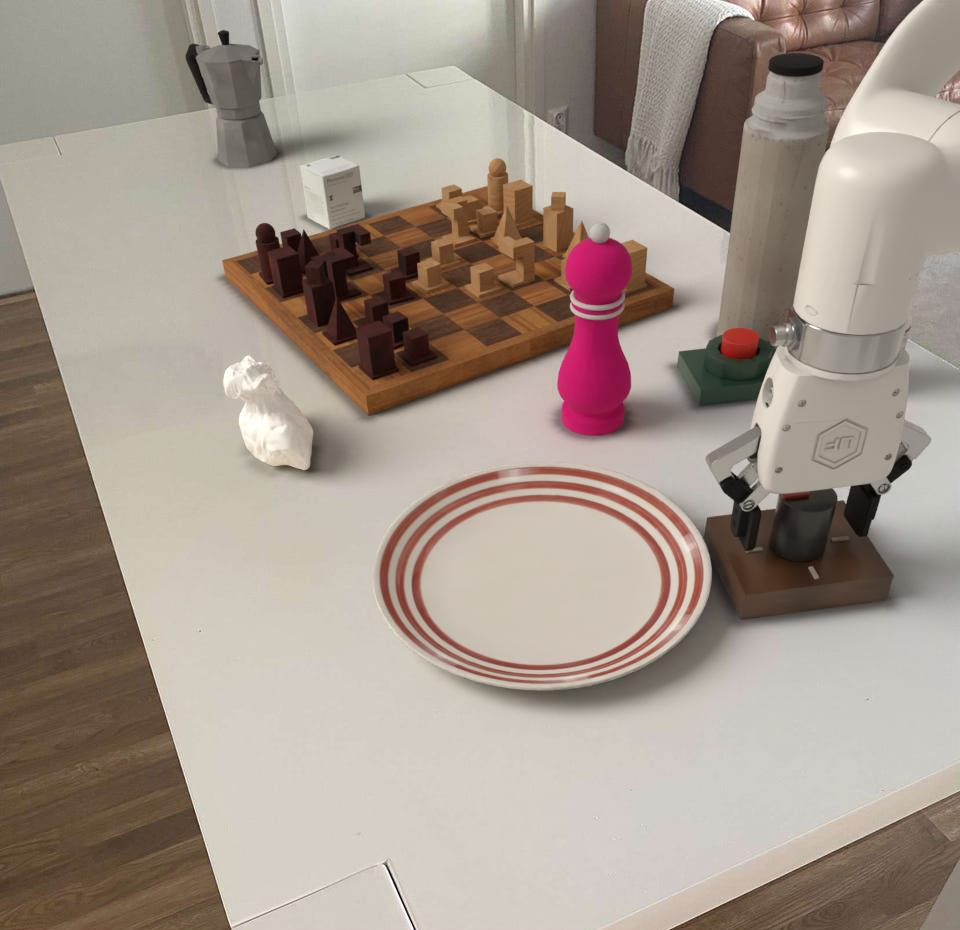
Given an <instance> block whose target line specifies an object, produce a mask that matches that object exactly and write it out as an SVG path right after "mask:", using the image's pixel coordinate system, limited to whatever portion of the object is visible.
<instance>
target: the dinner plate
mask: <svg viewBox="0 0 960 930" xmlns="http://www.w3.org/2000/svg"><path fill="white" fill-rule="evenodd" d="M712 579H713V568H712V559H711V557H710V555H709V552H708V548H707V546H706V543H705V541H704V536H702V533H701V532H700V530H699V528H698V527H697V526H696V524H695V523H694V521H693V520H692V519H691V518H690V517H689V516H688V514H687V513H686V512H685V511H684V510H683V509H682V508H681V507H680V506H678V504H676V502H674V501H673V500H671V498H669V497H668V496H667V495H665V494H663V493H662V492H660V491H658V490H657V489H655V488H653V487H652V486H650V485H648V484H647V483H644V482H642V481H640V480H639V479H636V478H634V477H631V476H629V475H627V474H624V473H620V472H618V471H614V470H610V469H607V468H604V467H600V466H599V467H598V466H593V465H589V464H583V463H575V462H563V461H526V462H525V461H524V462H516V463H507V464H501V465H495V466H491V467H487V468H483V469H479V470H475V471H472V472H469V473H466V474H463V475H460V476H458V477H456V478H453V479H451V480H449V481H448V480H447V481H446V482H444V483H442V484H440V485H438V486H436V487H434V488H432V489H431V490H429V491H427V492H425V493H424V494H422V495H421V496H419V497H418V498H417V499H415V500H414V501H413V502H411V503H410V504H409V505H408V506H407V507H405V509H404V510H402V511H401V513H400V514H399V515H398V516H397V517H396V518H395V519H394V520H393V522H392V523H391V524H390V526H389V527H388V528H387V530H386V531H385V533H384V535H383V537H382V538H381V540H380V542H379V545H378V547H377V550H376V553H375V557H374V561H373V568H372V589H373V590H372V591H373V594H374V600H375V602H376V606H377V608H378V610H379V613H380V615H381V616H382V619H383V620H384V621H385V623H386V625H387V626H388V627H389V629H390V630H391V631H392V632H393V634H394V635H395V636H396V637H397V638H398V639H399V640H400V641H401V642H402V644H404V646H406V647H407V648H408V649H410V650H411V651H412V652H413V653H414V654H415V655H417V656H419V657H421V658H422V659H423V660H425V662H426V661H427V662H428V663H429V664H431V665H433V666H435V667H437V668H438V669H441V670H443V671H445V672H447V673H449V674H452V675H455V676H457V677H460V678H462V679H465V680H470V681H472V682H476V683H478V684H483V685H488V686H493V687H498V688H505V689H512V690H522V691H561V690H563V691H564V690H572V689H573V690H574V689H580V688H586V687H590V686H596V685H599V684H603V683H608V682H611V681H614V680H617V679H620V678H622V677H625V676H627V675H629V674H632V673H634V672H637V671H639V670H641V669H642V668H645V667H646V666H648V665H650V664H651V663H653V662H655V661H657V660H658V659H660V658H661V657H663V656H664V655H665V654H667V653H668V652H670V651H671V650H672V649H673V648H674V647H676V646H677V645H678V644H679V643H680V642H681V641H682V640H683V639H684V638H686V636H687V635H688V634H689V633H690V631H691V630H692V628H694V626H695V625H696V624H697V623H698V620H699V619H700V617H701V616H702V613H703V612H704V610H705V607H706V605H707V603H708V599H709V597H710V593H711V588H712V581H713V580H712Z"/></svg>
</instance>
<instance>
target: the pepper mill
mask: <svg viewBox="0 0 960 930" xmlns="http://www.w3.org/2000/svg"><path fill="white" fill-rule="evenodd" d="M610 236H611V229H610V227H609V225H607V224H606V222H603V221H599V222H596V223H594V224H593V225H592V226H591V227H590V230H589V238H588V239H585V240H583V241H581V242H580V243H578V244H577V245H576V246H575V247H574V248H573V249H572V250H571V252H570V253H569V255H568V258H567V261H566V267H565V276H566V280H567V282H568V284H569V286H570V287H571V288H572V290H573V291H572V292H571V294H570V300H571V303H570V309H571V311H572V312H573V313H574V314H575V329H574V335H573V339H572V342H571V344H569V346H568V349H567V351H566V352H565V355H564V357H563V359H562V360H561V363H560V366H559V370H558V374H557V381H556V388H557V392H558V394H559V396H560V398H561V399H562V400H563V403H561V422H562V424H563V427H565V428H566V429H567V430H569V431H570V432H572V433H575V434H577V435H580V436H586V437H587V436H588V437H596V436H597V437H598V436H605V435H609V434H613V433H614V432H616V431H618V430H619V429H620V428H621V427H622V426H623V424H624V422H625V409H626V408H625V403H624V401H625V400H626V399H627V398H628V396H629V395H630V393H631V389H632V374H631V373H632V372H631V369H630V365H629V362H628V360H627V358H626V356H625V354H624V351H623V349H622V346H621V342H620V339H619V326H618V320H619V314H620V313H621V312H622V311H623V310H624V306H625V305H624V299H625V294H624V292H623V290H624V289H625V288H626V286H627V285H628V283H629V282H630V279H631V276H632V261H631V257H630V254H629V253H628V251H627V249H626V248H625V247H624V246H623V245H622V244H621V243H622V242H620V241H619V240H617V239H614V238H611V237H610Z"/></svg>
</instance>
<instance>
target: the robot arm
mask: <svg viewBox="0 0 960 930" xmlns="http://www.w3.org/2000/svg"><path fill="white" fill-rule="evenodd" d="M958 72H960V0H922V1H921V2H920V3H919V4H917V5H916V6H915V7H914V8H913V9H912V10H911V11H910V12H909V13H908V14H907V15H906V16H905V17H904V19H903V20H902V21H901V22H900V23H899V24H898V25H897V27H896V28H895V29H894V31H893V32H892V33H891V35H890V36H889V37H888V39H887V40H886V42H885V43H884V45H883V46H882V48H881V50H880V51H879V53H878V54H877V56H876V57H875V59H874V61H873V63H872V64H871V65H870V67H869V68H868V70H867V72H866V73H865V75H864V76H863V78H862V80H861V82H860V83H859V85H858V86H857V88H856V90H855V92H854V93H853V95H852V96H851V98H850V100H849V102H848V104H847V105H846V107H845V109H844V110H843V113H842V115H841V117H840V119H839V121H838V123H837V125H836V128H835V130H834V133H833V136H832V139H831V142H830V145H829V148H828V149H827V150H826V151H825V154H824V156H823V158H822V161H821V163H820V165H819V169H818V173H817V178H816V182H815V188H814V193H813V199H812V204H811V210H810V215H809V220H808V226H807V231H806V237H805V242H804V247H803V253H802V258H801V264H800V269H799V275H798V281H797V286H796V292H795V297H794V303H793V307H792V308H790V309H789V314H788V320H787V321H786V323H782V324H781V325H777V326H772V327H771V328H770V332H769V340H770V344H771V345H772V346H778V347H777V350H776V352H775V354H774V356H773V358H772V360H771V363H770V365H769V368H768V370H767V373H766V375H765V378H764V381H763V384H762V387H761V390H760V393H759V396H758V399H756V402H755V403H756V404H755V407H754V411H753V415H752V418H751V424H750V428H749V429H748V430H747V431H746V432H744V433H742V434H740V435H739V436H737V437H735V438H733V439H732V440H730V441H728V442H726V443H724V444H723V445H721V446H720V447H717V448H716V449H714V450H712V451H711V452H708V453H707V455H706V456H705V463H706V464H707V466H708V468H709V470H710V472H711V474H712V475H713V477H714V479H715V480H716V482H717V484H718V485H719V488H720V489H721V491H722V492H723V493H724V494H725V495H726V496H727V497H729V498H730V499H731V500H732V501H733V504H732V511H731V514H732V516H731V523H730V527H731V531H732V534H733V536H734V537H738V538H739V540H740V542H741V544H742V546H743V548H744V550H745V551H752V550H753V549H755V546H756V541H757V536H758V531H759V525H760V520H761V515H762V513H761V507H760V506H759V504H760V503H761V502H762V501H764V500H765V498H766V497H767V496H768V495H769V494H770V493H771V494H775V495H779V494H789V493H799V492H807V491H816V490H824V489H832V488H833V489H840V488H847V487H850V488H849V491H848V495H847V498H846V502H845V503H846V506H845V510H844V517H845V518H846V520H847V521H848V523H849V524H850V526H851V527H852V529H853V530H854V532H855V534H856V535H857V536H859V537H864V536H868V534H869V531H870V528H871V525H872V521H874V520H875V519H876V516H877V515H876V514H877V511H878V509H879V505H880V501H881V498H882V496H884V495H886V494H889V492H890V491H891V489H892V484H893V482H895V481H896V480H897V479H899V478H900V477H902V476H903V475H904V474H905V473H906V472H908V471H909V470H910V469H911V467H912V466H913V461H914V460H917V458H918V457H919V456H920V455H921V454H922V453H923V452H924V450H926V449H927V448H928V446H930V444H931V442H932V437H931V436H930V435H929V434H928V433H927V431H926V430H925V429H924V428H923V427H921V426H919V425H917V424H915V423H912V422H911V421H909V420H907V419H905V417H906V413H907V406H908V399H909V398H908V397H909V387H910V386H909V385H910V355H909V353H908V351H907V350H906V349H905V350H904V349H903V348H902V347H901V345H902V341H903V338H904V334H905V330H906V327H907V323H908V319H909V315H910V311H912V307H913V304H914V300H915V296H916V293H917V290H918V289H917V288H918V285H919V282H920V278H921V275H922V271H923V268H924V264H925V262H926V260H927V259H928V258H929V257H933V256H937V255H944V254H950V253H957V252H960V103H956V102H953V101H949V100H945V99H942V98H939V97H936V96H938V94H939V93H940V91H941V90H942V89H943V87H944V86H945V85H947V83H948V82H950V80H951V79H952V78H953V77H954V76H955V75H956V74H958ZM779 345H780V346H779ZM746 459H747V461H748V462H749V463H748V464H747V465H746V466H745V467H744V468H743V470H742V471H740V473H739V474H738V475H736V474H735V472H733V471H732V468H733V467H734V466H735V465H737V464H739V463H740V462H742V461H744V460H746ZM756 481H757V482H756ZM752 485H753V486H752Z"/></svg>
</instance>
